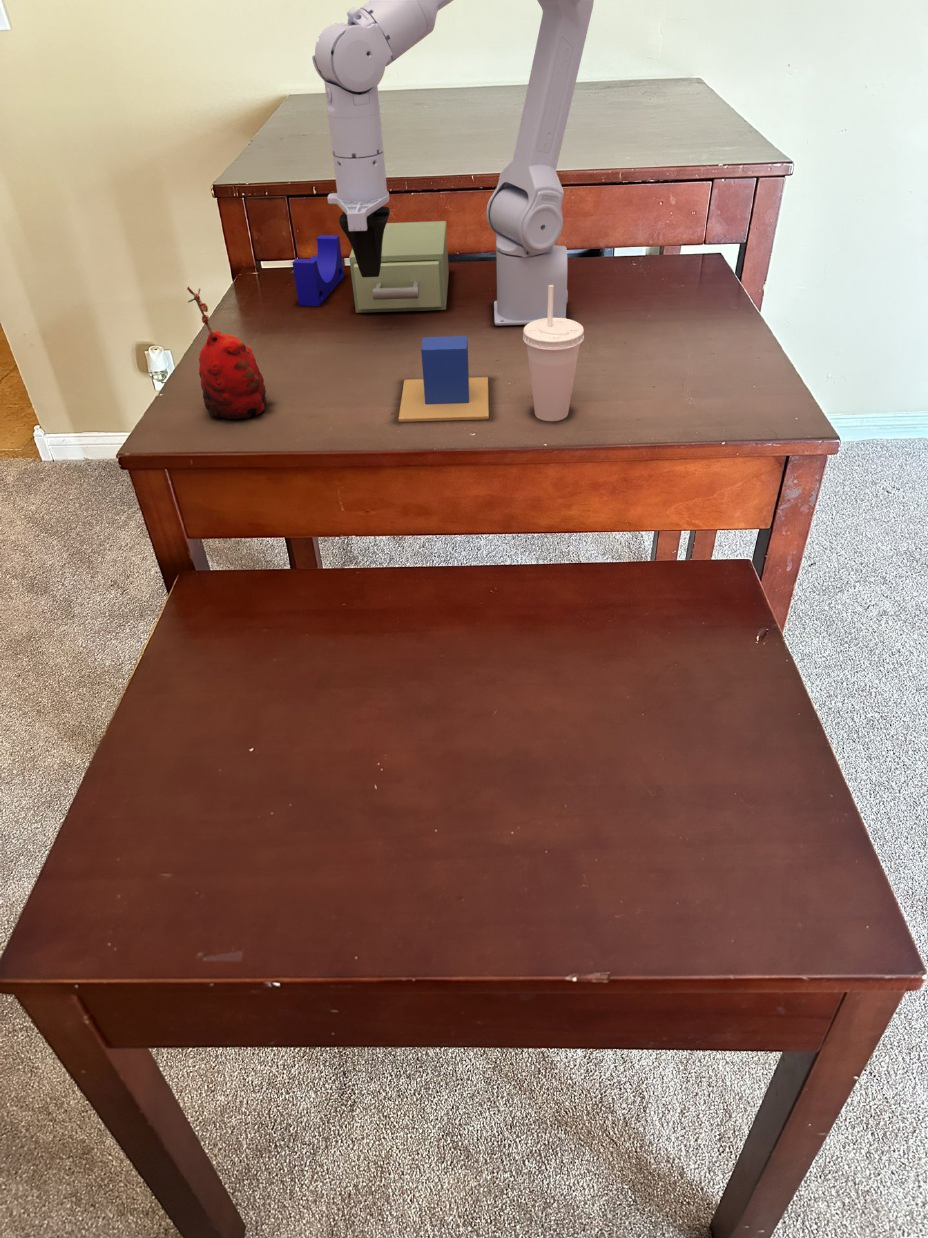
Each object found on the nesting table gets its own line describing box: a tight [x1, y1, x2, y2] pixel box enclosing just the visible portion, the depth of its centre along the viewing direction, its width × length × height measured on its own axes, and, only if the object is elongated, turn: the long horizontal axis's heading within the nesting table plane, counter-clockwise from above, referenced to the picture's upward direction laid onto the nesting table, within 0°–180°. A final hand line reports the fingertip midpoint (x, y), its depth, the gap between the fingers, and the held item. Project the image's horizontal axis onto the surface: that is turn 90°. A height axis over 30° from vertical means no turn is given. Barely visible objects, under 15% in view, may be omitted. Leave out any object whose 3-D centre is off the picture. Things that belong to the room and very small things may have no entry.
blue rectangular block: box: [420, 335, 470, 404], centre depth 101 cm, size 5×3×6 cm
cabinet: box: [348, 220, 450, 314], centre depth 128 cm, size 15×13×8 cm
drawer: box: [354, 260, 441, 309], centre depth 125 cm, size 18×11×6 cm, turn 179°
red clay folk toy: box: [186, 286, 267, 420], centre depth 98 cm, size 8×7×15 cm
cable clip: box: [291, 234, 345, 307], centre depth 130 cm, size 12×4×6 cm, turn 169°
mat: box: [398, 376, 490, 423], centre depth 103 cm, size 10×10×1 cm
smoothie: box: [522, 285, 585, 422], centre depth 95 cm, size 6×6×14 cm
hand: (370, 275), depth 109 cm, fingers closed
